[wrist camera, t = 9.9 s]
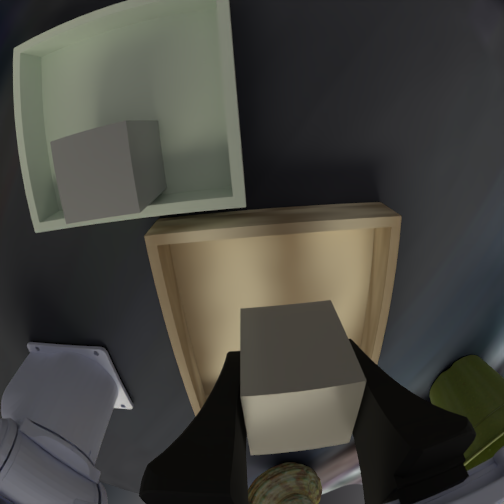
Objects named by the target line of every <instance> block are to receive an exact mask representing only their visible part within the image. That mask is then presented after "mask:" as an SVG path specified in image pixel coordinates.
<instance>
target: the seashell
mask: <svg viewBox="0 0 504 504" xmlns="http://www.w3.org/2000/svg"><path fill="white" fill-rule="evenodd" d="M321 494H322V486H321V482H320V478H319V477H318V476H317V474H316V472H315V471H314V470H313V469H311V468H310V467H307V466H305V465H303V464H297V463H296V462H291V463H290V462H287V463H282V464H279V465H277V466H274V467H272V468H270V469H268V470H267V471H265V472H264V473H262V474H261V475H260V476H259V477H257V478H256V479H255V480H254V482H253V483H252V484H251V486H250V487H249V489H248V501H249V504H318V503H319V501H320V497H321Z"/></svg>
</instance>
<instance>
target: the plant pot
mask: <svg viewBox="0 0 504 504" xmlns="http://www.w3.org/2000/svg"><path fill="white" fill-rule="evenodd" d="M430 399H431V403H432V404H433V405H435V406H438V407H440V408H442V409H445V410H447V411H450V412H453V413H456V414H459V415H462V416H465V417H467V418H468V420H469V421H470V423H471V424H472V426H473V428H474V430H475V432H476V437H475V440H474V441H473V443H472V444H471V445H470V446H469V448H468V449H467V450H466V451H465V453H464V454H463V455H464V457H465V459H466V461H465V462H464V463H463V464H464V466H465V468H466V470H467V471H468V470H470V469H472V468H474V467H476V466H478V465H479V464H481V463H483V462H485V461H487V460H488V459H490V458H492V457H493V456H494V455H495V453H496V452H497V451H498V450H499V449H500V448H502V447H503V446H504V378H503V377H501V376H500V375H499V374H498V373H497V372H496V371H495V370H494V369H493V368H491V367H490V366H489V365H488V364H487V363H486V362H485V361H483V360H482V359H481V358H480V357H479V356H477V355H469V356H466V357H463V358H461V359H459V360H457V361H456V362H454V363H453V365H452V366H451V368H450V369H448V370H447V371H445V372H443V373H441V374H440V376H439V377H438V378H437V379H436V381H435V382H434V384H433V385H432V387H431V390H430Z"/></svg>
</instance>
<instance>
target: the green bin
mask: <svg viewBox="0 0 504 504" xmlns="http://www.w3.org/2000/svg"><path fill="white" fill-rule="evenodd" d="M13 94H14V113H15V125H16V135H17V143H18V151H19V158H20V165H21V171H22V176H23V182H24V187H25V192H26V197H27V201H28V206H29V210H30V214H31V218H32V222H33V226H34V230H35V233H39V232H45V231H52V230H58V229H64V228H71V227H78V226H85V225H92V224H99V223H106V222H114V221H121V220H129V219H137V218H145V217H154V216H162V215H171V214H181V213H190V212H200V211H210V210H221V209H232V208H244V207H246V191H245V179H244V167H243V156H242V144H241V132H240V120H239V109H238V97H237V85H236V73H235V61H234V49H233V37H232V25H231V13H230V2H229V0H127V1H124V2H120V3H117V4H114V5H111V6H108V7H105V8H102V9H99V10H96V11H93V12H91V13H88V14H85V15H83V16H80V17H78V18H75V19H73V20H70V21H68V22H66V23H63V24H61V25H59V26H57V27H54V28H52V29H50V30H48V31H46V32H44V33H42V34H40V35H38V36H36V37H34V38H32V39H30V40H28V41H26V42H24V43H23V44H21V45H19V46H17V47H15V48H14V54H13ZM125 120H158V124H159V133H160V141H161V149H162V156H163V164H164V171H165V177H166V184H167V189H166V190H164V191H163V192H162V193H161V194H160V195H159V196H158V197H157V198H156V199H155V200H153V201H152V202H151V203H150V204H149V205H148V206H147V207H146V208H145V209H144V210H143V211H142V212H141V213H135V214H128V215H121V216H114V217H107V218H101V219H94V220H88V221H82V222H76V223H70V224H66V221H65V217H64V213H63V209H62V204H61V200H60V195H59V190H58V186H57V180H56V175H55V170H54V164H53V158H52V151H51V144H50V142H51V141H54V140H57V139H60V138H63V137H66V136H70V135H73V134H76V133H80V132H83V131H86V130H90V129H94V128H97V127H101V126H105V125H109V124H113V123H117V122H121V121H125Z"/></svg>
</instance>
